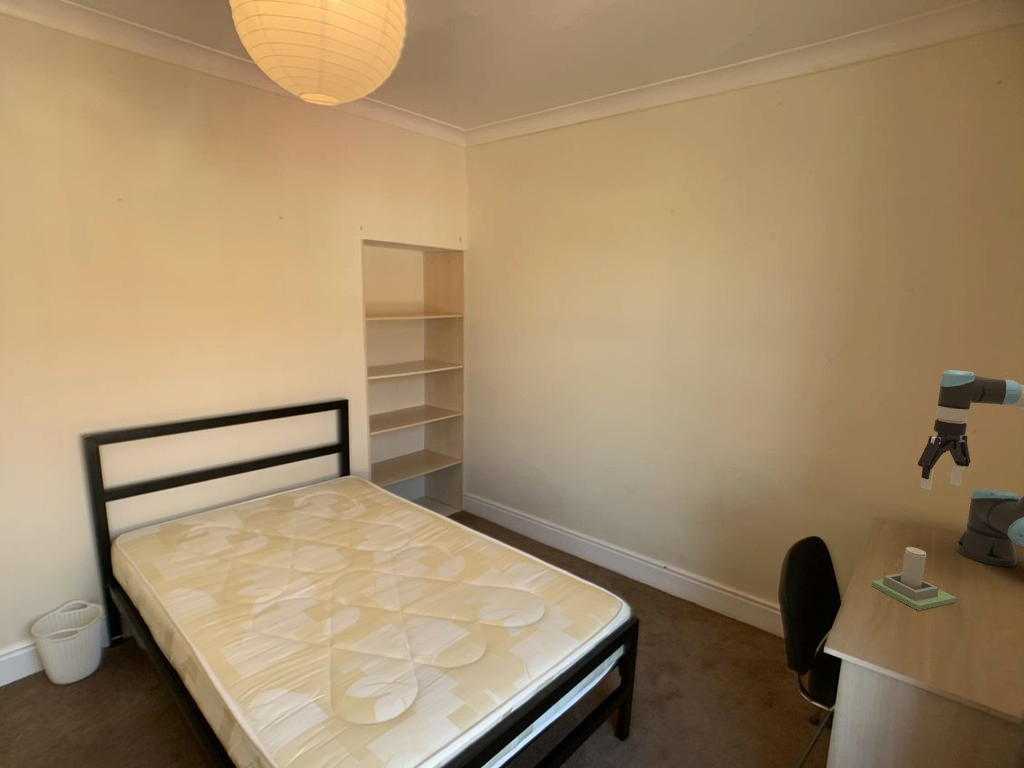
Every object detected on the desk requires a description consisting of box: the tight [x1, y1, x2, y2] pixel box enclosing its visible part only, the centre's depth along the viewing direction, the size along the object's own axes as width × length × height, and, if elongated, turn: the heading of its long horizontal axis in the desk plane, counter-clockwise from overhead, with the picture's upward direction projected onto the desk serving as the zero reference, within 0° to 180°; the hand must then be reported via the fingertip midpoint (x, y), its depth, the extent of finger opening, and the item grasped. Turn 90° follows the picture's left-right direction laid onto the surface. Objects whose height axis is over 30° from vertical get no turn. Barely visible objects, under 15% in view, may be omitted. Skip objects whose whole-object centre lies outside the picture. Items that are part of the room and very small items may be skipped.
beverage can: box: [900, 546, 927, 590], centre depth 146 cm, size 5×5×12 cm
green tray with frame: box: [871, 572, 957, 611], centre depth 148 cm, size 15×13×4 cm
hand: (940, 487), depth 161 cm, fingers open, 13 cm apart
